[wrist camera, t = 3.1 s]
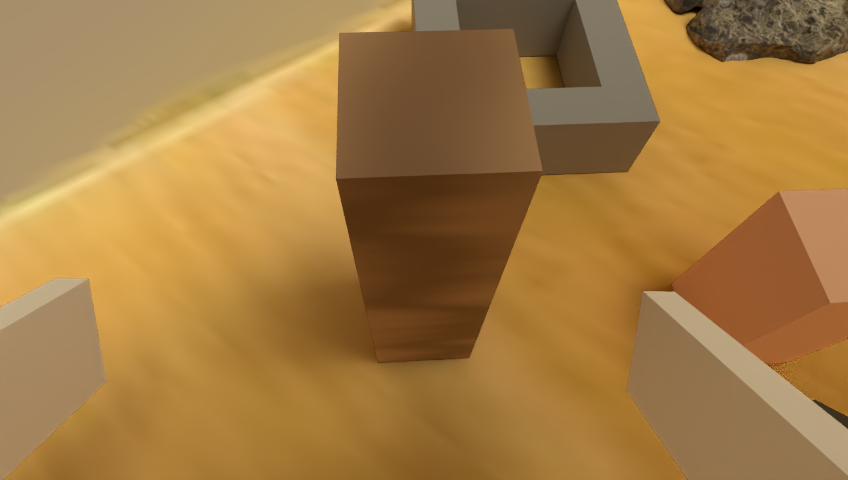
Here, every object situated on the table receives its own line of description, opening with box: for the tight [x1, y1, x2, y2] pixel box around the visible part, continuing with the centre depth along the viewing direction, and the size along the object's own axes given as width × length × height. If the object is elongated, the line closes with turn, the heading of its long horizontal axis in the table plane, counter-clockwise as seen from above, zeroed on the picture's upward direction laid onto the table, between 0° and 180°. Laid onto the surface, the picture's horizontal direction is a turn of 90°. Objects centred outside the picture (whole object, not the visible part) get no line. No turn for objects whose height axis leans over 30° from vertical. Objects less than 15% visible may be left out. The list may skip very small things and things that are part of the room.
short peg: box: [672, 188, 848, 364], centre depth 20 cm, size 4×4×8 cm
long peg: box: [336, 29, 543, 363], centre depth 17 cm, size 4×4×14 cm
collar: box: [412, 0, 660, 175], centre depth 28 cm, size 11×11×4 cm
